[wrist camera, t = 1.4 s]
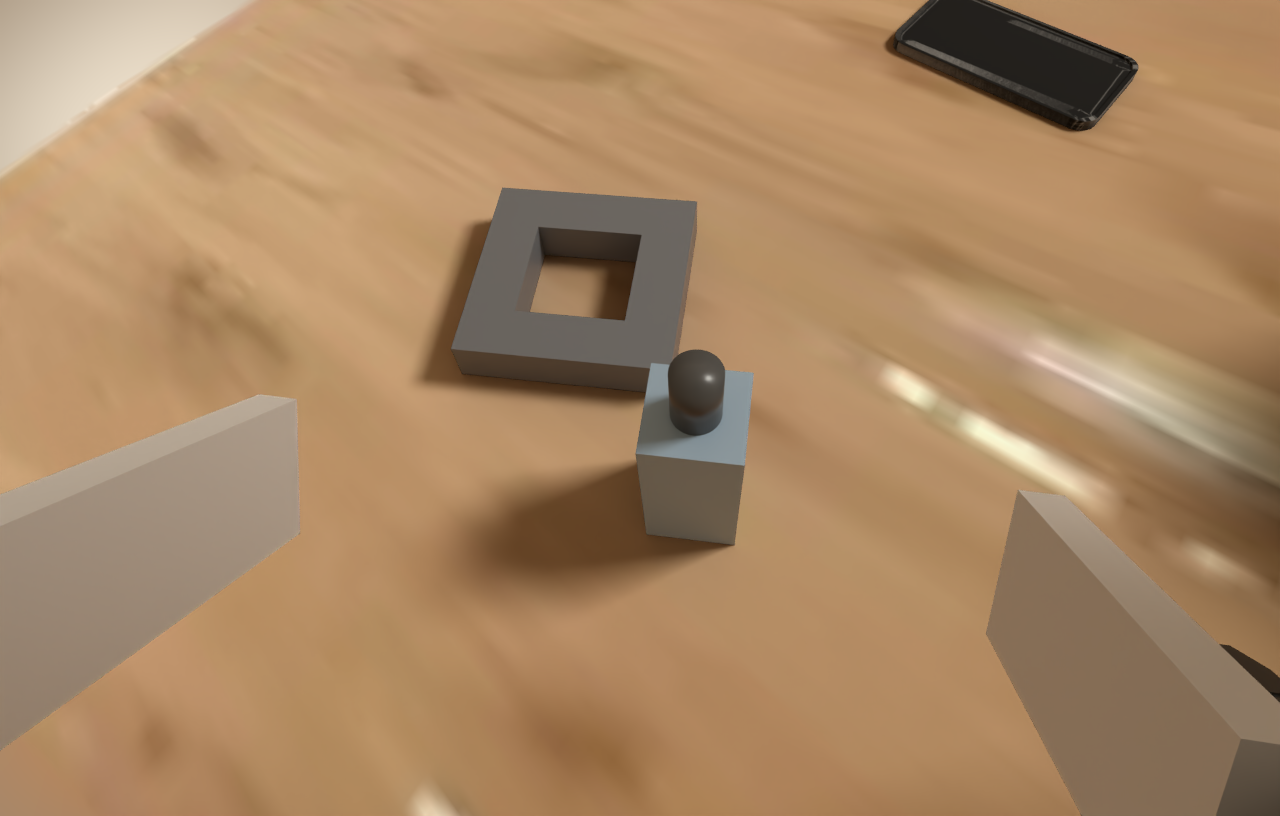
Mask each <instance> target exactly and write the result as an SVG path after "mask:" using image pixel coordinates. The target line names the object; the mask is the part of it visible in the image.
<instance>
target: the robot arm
mask: <svg viewBox="0 0 1280 816" xmlns="http://www.w3.org/2000/svg"><path fill="white" fill-rule="evenodd" d="M299 534H300V509H299V469H298V430H297V399H292V398H284V397H276V396H268V395H260V394H259V395H256V396H253V397H251V398H248V399H246V400H243V401H241V402H238V403H235V404H233V405H230V406H228V407H225V408H222V409H220V410H217V411H215V412H212V413H210V414H207V415H204V416H202V417H199V418H197V419H194V420H191V421H189V422H186V423H184V424H181V425H179V426H176V427H173V428H171V429H168V430H166V431H163V432H160V433H158V434H155V435H153V436H150V437H148V438H145V439H142V440H140V441H137V442H135V443H132V444H129V445H127V446H124V447H122V448H119V449H117V450H114V451H111V452H109V453H106V454H104V455H101V456H98V457H96V458H93V459H91V460H88V461H85V462H83V463H80V464H78V465H75V466H73V467H70V468H67V469H65V470H62V471H60V472H57V473H54V474H52V475H49V476H47V477H44V478H42V479H39V480H36V481H34V482H31V483H29V484H26V485H23V486H21V487H18V488H16V489H13V490H11V491H8V492H5V493H3V494H0V750H2V749H3V748H5V747H6V746H7V745H9V744H10V743H11V742H13V741H14V740H16V739H17V738H18V737H20V736H21V735H23V734H24V733H25V732H27V731H28V730H29V729H31V728H32V727H34V726H35V725H36V724H38V723H39V722H40V721H42V720H43V719H45V718H46V717H47V716H49V715H50V714H52V713H53V712H54V711H56V710H57V709H58V708H60V707H61V706H63V705H64V704H65V703H67V702H68V701H69V700H71V699H72V698H74V697H75V696H76V695H78V694H79V693H80V692H82V691H83V690H85V689H86V688H87V687H89V686H90V685H92V684H93V683H94V682H96V681H97V680H98V679H100V678H101V677H103V676H104V675H105V674H107V673H108V672H109V671H111V670H112V669H114V668H115V667H116V666H118V665H119V664H121V663H122V662H123V661H125V660H126V659H127V658H129V657H130V656H132V655H133V654H134V653H136V652H137V651H138V650H140V649H141V648H143V647H144V646H145V645H147V644H148V643H149V642H151V641H152V640H154V639H155V638H156V637H158V636H159V635H161V634H162V633H163V632H165V631H166V630H167V629H169V628H170V627H172V626H173V625H174V624H176V623H177V622H178V621H180V620H181V619H183V618H184V617H185V616H187V615H188V614H190V613H191V612H192V611H194V610H195V609H196V608H198V607H199V606H201V605H202V604H203V603H205V602H206V601H207V600H209V599H210V598H212V597H213V596H214V595H216V594H217V593H218V592H220V591H221V590H223V589H224V588H225V587H227V586H228V585H230V584H231V583H232V582H234V581H235V580H236V579H238V578H239V577H241V576H242V575H243V574H245V573H246V572H247V571H249V570H250V569H252V568H253V567H254V566H256V565H257V564H258V563H260V562H261V561H263V560H264V559H265V558H267V557H268V556H270V555H271V554H272V553H274V552H275V551H276V550H278V549H279V548H281V547H282V546H283V545H285V544H286V543H287V542H289V541H290V540H292V539H293V538H294V537H296V536H297V535H299ZM986 635H987V636H988V638H989V640H990V642H991V644H992V646H993V648H994V650H995V652H996V654H997V656H998V657H999V659H1000V661H1001V663H1002V665H1003V667H1004V669H1005V671H1006V673H1007V675H1008V676H1009V678H1010V680H1011V682H1012V684H1013V686H1014V688H1015V690H1016V692H1017V694H1018V696H1019V697H1020V699H1021V701H1022V703H1023V705H1024V707H1025V709H1026V711H1027V713H1028V715H1029V716H1030V718H1031V720H1032V722H1033V724H1034V726H1035V728H1036V730H1037V732H1038V734H1039V735H1040V737H1041V739H1042V741H1043V743H1044V745H1045V747H1046V749H1047V751H1048V753H1049V755H1050V756H1051V758H1052V760H1053V762H1054V764H1055V766H1056V768H1057V770H1058V772H1059V774H1060V775H1061V777H1062V779H1063V781H1064V783H1065V785H1066V787H1067V789H1068V791H1069V793H1070V794H1071V796H1072V798H1073V800H1074V802H1075V804H1076V806H1077V808H1078V810H1079V812H1080V814H1081V815H1082V816H1280V678H1279V677H1278V676H1277V675H1276V674H1275V673H1274V672H1272V671H1271V670H1270V669H1268V668H1266V667H1265V666H1263V665H1261V664H1260V663H1258V662H1256V661H1255V660H1253V659H1251V658H1250V657H1248V656H1246V655H1245V654H1243V653H1241V652H1240V651H1238V650H1236V649H1235V648H1233V647H1231V646H1229V645H1222V644H1218V643H1217V642H1216V641H1215V640H1214V639H1213V638H1212V637H1211V636H1210V635H1209V634H1208V633H1207V632H1206V631H1205V630H1204V629H1203V628H1202V627H1201V626H1200V625H1199V624H1197V623H1196V622H1195V621H1194V620H1193V619H1192V618H1191V617H1190V616H1189V615H1188V614H1187V613H1186V612H1185V611H1184V610H1183V609H1182V608H1181V607H1180V606H1179V605H1178V604H1177V603H1176V602H1175V601H1174V600H1173V599H1172V598H1170V597H1169V596H1168V595H1167V594H1166V593H1165V592H1164V591H1163V590H1162V589H1161V588H1160V587H1159V586H1158V585H1157V584H1156V583H1155V582H1154V581H1153V580H1152V579H1151V578H1150V577H1149V576H1148V575H1147V574H1146V573H1145V572H1143V571H1142V570H1141V569H1140V568H1139V567H1138V566H1137V565H1136V564H1135V563H1134V562H1133V561H1132V560H1131V559H1130V558H1129V557H1128V556H1127V555H1126V554H1125V553H1124V552H1123V551H1122V550H1121V549H1120V548H1119V547H1118V546H1116V545H1115V544H1114V543H1113V542H1112V541H1111V540H1110V539H1109V538H1108V537H1107V536H1106V535H1105V534H1104V533H1103V532H1102V531H1101V530H1100V529H1099V528H1098V527H1097V526H1096V525H1095V524H1094V523H1093V522H1092V521H1091V520H1089V519H1088V518H1087V517H1086V516H1085V515H1084V514H1083V513H1082V512H1081V511H1080V510H1079V509H1078V508H1077V507H1076V506H1075V505H1074V504H1073V503H1072V502H1071V501H1070V500H1069V499H1068V498H1067V497H1066V496H1062V495H1055V494H1047V493H1039V492H1031V491H1023V490H1018V492H1017V496H1016V501H1015V505H1014V510H1013V514H1012V519H1011V523H1010V528H1009V532H1008V537H1007V541H1006V546H1005V550H1004V555H1003V559H1002V564H1001V568H1000V573H999V577H998V582H997V586H996V591H995V595H994V600H993V604H992V609H991V613H990V618H989V622H988V627H987V631H986Z"/></svg>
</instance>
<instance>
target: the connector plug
mask: <svg viewBox="0 0 1280 816" xmlns="http://www.w3.org/2000/svg"><path fill="white" fill-rule="evenodd" d="M753 374H754V373H750V372H739V371H729V370H725V369H724V366H723V364H722V362H721V361H720V359H719V358H718V357H717V356H715V355H714V354H712V353H710V352H707V351H704V350H689V351H685V352H683V353H681V354H679V355H678V356H676V357H675V358H674V359H673V361H672V362H671V363H670V365H667V364H657V363H651V367H650V373H649V378H648V384H647V390H646V396H645V402H644V408H643V413H642V419H641V425H640V431H639V437H638V443H637V449H636V460H637V467H638V475H639V482H640V490H641V497H642V505H643V512H644V520H645V527H646V534H648V535H656V536H664V537H672V538H681V539H689V540H697V541H705V542H713V543H721V544H729V545H734V544H735V536H736V528H737V521H738V513H739V505H740V498H741V490H742V482H743V475H744V467H745V457H746V446H747V436H748V426H749V415H750V405H751V395H752V384H753Z"/></svg>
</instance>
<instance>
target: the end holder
mask: <svg viewBox="0 0 1280 816" xmlns="http://www.w3.org/2000/svg"><path fill="white" fill-rule="evenodd" d="M696 232H697V202H695V201H681V200H667V199H653V198H639V197H625V196H611V195H597V194H583V193H569V192H555V191H541V190H527V189H513V188H502V191H501V194H500V197H499V200H498V203H497V206H496V209H495V212H494V216H493V219H492V222H491V225H490V228H489V231H488V234H487V238H486V241H485V244H484V247H483V250H482V253H481V256H480V259H479V263H478V266H477V269H476V272H475V275H474V278H473V281H472V284H471V288H470V291H469V294H468V297H467V300H466V303H465V306H464V309H463V313H462V316H461V319H460V322H459V325H458V328H457V331H456V335H455V338H454V341H453V344H452V347H451V350H452V353H453V355H454V357H455V359H456V361H457V363H458V366H459V368H460V370H461V372H462V374H470V375H480V376H490V377H500V378H510V379H520V380H529V381H539V382H549V383H559V384H569V385H579V386H589V387H599V388H609V389H619V390H628V391H638V392H646V390H647V384H648V378H649V373H650V367H651V363H657V364H667V365H670V363H671V362H672V361H673V359H674V358H675V357H676V356H678V350H679V344H680V337H681V331H682V324H683V318H684V311H685V304H686V298H687V291H688V285H689V278H690V272H691V265H692V259H693V252H694V246H695V239H696ZM545 255H554V256H566V257H579V258H591V259H603V260H616V261H628V262H636V266H635V272H634V277H633V282H632V287H631V292H630V297H629V302H628V307H627V312H626V317H625V321H623V320H612V319H601V318H590V317H579V316H568V315H557V314H545V313H534V312H530V309H531V305H532V301H533V297H534V294H535V290H536V286H537V283H538V279H539V275H540V271H541V268H542V264H543V260H544V257H545Z"/></svg>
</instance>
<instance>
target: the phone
mask: <svg viewBox="0 0 1280 816" xmlns="http://www.w3.org/2000/svg"><path fill="white" fill-rule="evenodd" d="M893 46H894V48H895V49H896V50H897V51H898V52H899V53H901V54H903V55H906V56H908V57H910V58H912V59H915V60H917V61H919V62H921V63H924V64H926V65H928V66H930V67H933V68H935V69H937V70H939V71H942V72H944V73H946V74H948V75H951V76H953V77H955V78H957V79H960V80H962V81H964V82H966V83H969V84H971V85H973V86H975V87H978V88H980V89H982V90H984V91H987V92H989V93H991V94H994V95H996V96H998V97H1000V98H1003V99H1005V100H1007V101H1009V102H1012V103H1014V104H1016V105H1018V106H1021V107H1023V108H1025V109H1027V110H1030V111H1032V112H1034V113H1036V114H1039V115H1041V116H1043V117H1045V118H1048V119H1050V120H1052V121H1054V122H1057V123H1059V124H1061V125H1063V126H1066V127H1068V128H1070V129H1073V130H1079V131H1083V130H1088V129H1091V128H1092V127H1094V126H1095V125H1096V123H1097V122H1098V121H1099V120H1100V119H1101V117H1102V116H1103V115H1104V114H1105V113H1106V111H1107V110H1108V109H1109V108H1110V107H1111V105H1112V104H1113V103H1114V102H1115V101H1116V100H1117V98H1118V97H1119V96H1120V95H1121V94H1122V92H1123V91H1124V90H1125V89H1126V88H1127V86H1128V85H1129V84H1130V83H1131V81H1132V80H1133V78H1134V76H1135V74H1136V72H1137V70H1138V64H1137V63H1136V61H1135V60H1133V59H1132V58H1130V57H1128V56H1126V55H1124V54H1121V53H1119V52H1116V51H1114V50H1111V49H1108V48H1106V47H1103V46H1101V45H1098V44H1096V43H1093V42H1091V41H1088V40H1086V39H1083V38H1081V37H1078V36H1076V35H1073V34H1071V33H1068V32H1066V31H1063V30H1061V29H1058V28H1056V27H1053V26H1051V25H1048V24H1046V23H1043V22H1041V21H1038V20H1035V19H1033V18H1030V17H1028V16H1025V15H1023V14H1020V13H1018V12H1015V11H1013V10H1010V9H1008V8H1005V7H1003V6H1000V5H998V4H995V3H993V2H990V1H988V0H929V1H928V2H927V3H926V4H925V5H924V6H923V7H922V8H920V9H919V10H918V11H917V12H916V13H915V14H914V15H913V16H912V17H911V18H910V19H909V20H908V21H907V22H906V23H905V24H903V25H902V26H901V27H900V28H899V29H898V30H897V32H896V34H895V38H894V43H893Z"/></svg>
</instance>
